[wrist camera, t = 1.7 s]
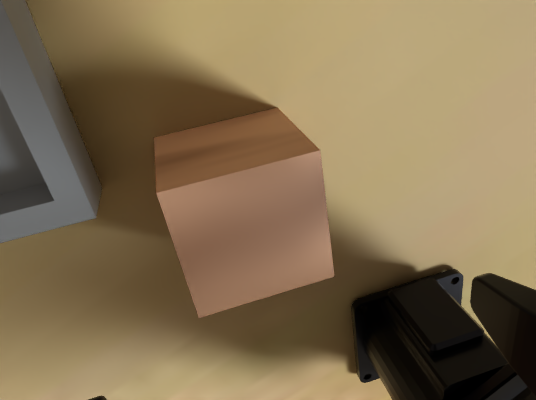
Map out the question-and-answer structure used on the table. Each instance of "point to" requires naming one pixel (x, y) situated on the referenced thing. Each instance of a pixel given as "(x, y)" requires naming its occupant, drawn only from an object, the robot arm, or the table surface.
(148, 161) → the table surface
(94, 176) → the tray
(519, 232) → the table surface
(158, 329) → the table surface
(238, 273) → the block
